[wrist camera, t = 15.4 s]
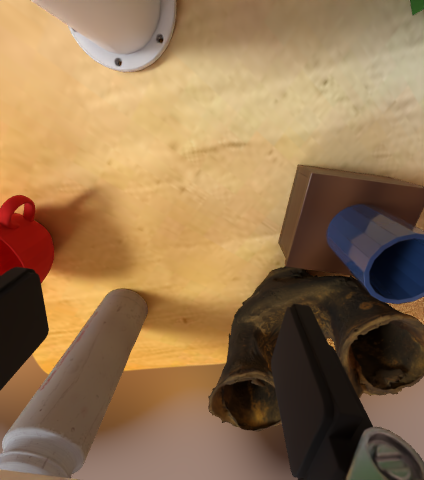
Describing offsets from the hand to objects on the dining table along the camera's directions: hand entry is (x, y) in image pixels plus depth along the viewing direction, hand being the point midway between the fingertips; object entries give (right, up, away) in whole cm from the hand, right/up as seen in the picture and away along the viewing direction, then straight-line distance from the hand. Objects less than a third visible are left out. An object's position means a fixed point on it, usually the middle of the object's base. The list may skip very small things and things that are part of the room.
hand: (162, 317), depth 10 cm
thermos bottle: (-13, -9, +36) cm, 39 cm away
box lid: (+18, +4, +21) cm, 28 cm away
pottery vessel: (+14, -6, +33) cm, 36 cm away
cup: (+19, +4, +20) cm, 28 cm away
